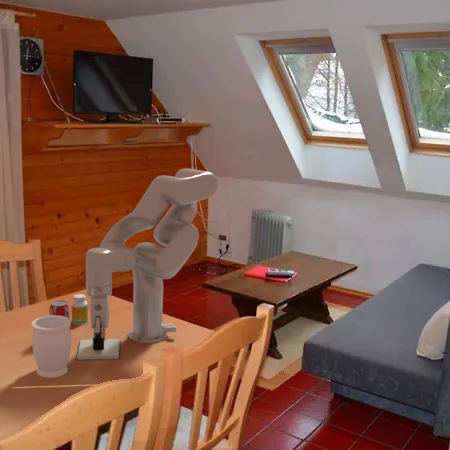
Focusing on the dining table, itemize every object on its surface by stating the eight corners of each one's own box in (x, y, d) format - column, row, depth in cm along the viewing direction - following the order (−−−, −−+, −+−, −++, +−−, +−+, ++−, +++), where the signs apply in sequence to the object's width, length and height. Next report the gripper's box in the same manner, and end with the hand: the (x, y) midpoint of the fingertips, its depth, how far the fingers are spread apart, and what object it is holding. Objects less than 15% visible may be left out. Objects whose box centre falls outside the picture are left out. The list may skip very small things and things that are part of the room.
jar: (26, 370, 158) (24, 320, 155) (59, 360, 166) (59, 312, 162) (44, 384, 151) (43, 332, 148) (78, 373, 158) (78, 323, 155)
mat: (121, 342, 180) (121, 341, 180) (120, 360, 167) (120, 359, 167) (79, 343, 178) (79, 342, 178) (75, 361, 165) (75, 360, 165)
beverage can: (64, 343, 177) (63, 307, 175) (46, 340, 178) (45, 305, 176) (73, 335, 183) (73, 300, 181) (55, 333, 184) (55, 298, 182)
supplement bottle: (84, 326, 191) (83, 299, 189) (69, 324, 192) (68, 297, 190) (90, 320, 196) (90, 294, 194) (75, 318, 197) (75, 292, 195)
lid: (119, 341, 179) (119, 321, 178) (118, 358, 167) (118, 336, 166) (80, 342, 177) (80, 322, 176) (77, 359, 166) (76, 337, 164)
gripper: (110, 298, 161) (110, 357, 164) (112, 280, 177) (112, 334, 181) (83, 299, 159) (84, 358, 163) (88, 280, 176) (88, 334, 180)
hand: (99, 344), depth 172 cm, fingers open, 5 cm apart
